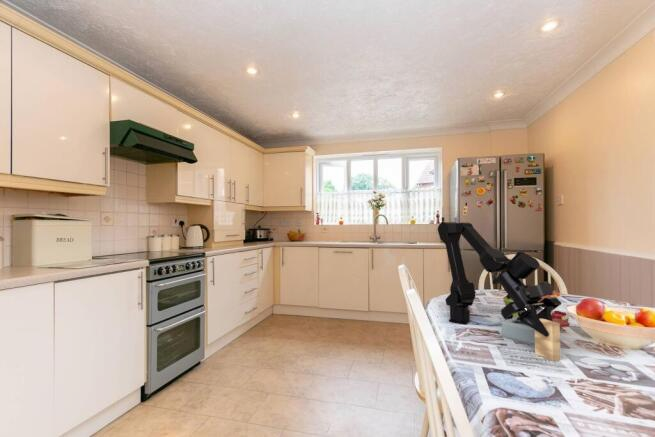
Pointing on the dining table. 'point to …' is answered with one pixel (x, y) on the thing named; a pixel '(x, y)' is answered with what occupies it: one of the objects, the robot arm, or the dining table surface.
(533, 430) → the dining table surface
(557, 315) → the anatomical model
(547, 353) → the upright wooden block
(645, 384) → the dining table surface
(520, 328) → the block
